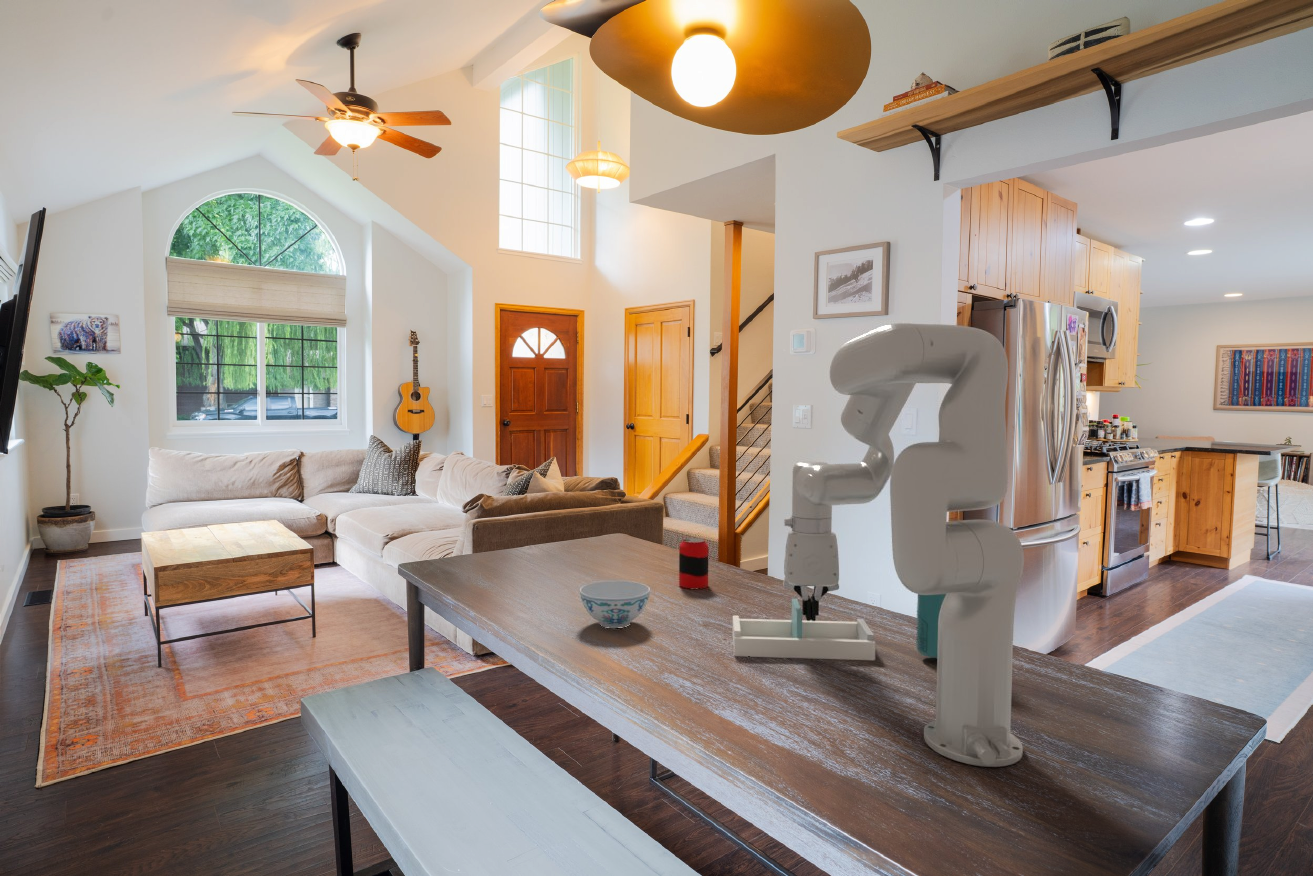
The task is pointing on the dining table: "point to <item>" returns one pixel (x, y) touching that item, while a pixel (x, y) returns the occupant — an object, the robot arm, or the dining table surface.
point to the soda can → (693, 563)
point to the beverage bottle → (928, 623)
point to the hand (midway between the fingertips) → (810, 618)
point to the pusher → (796, 620)
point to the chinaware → (614, 601)
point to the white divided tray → (803, 639)
